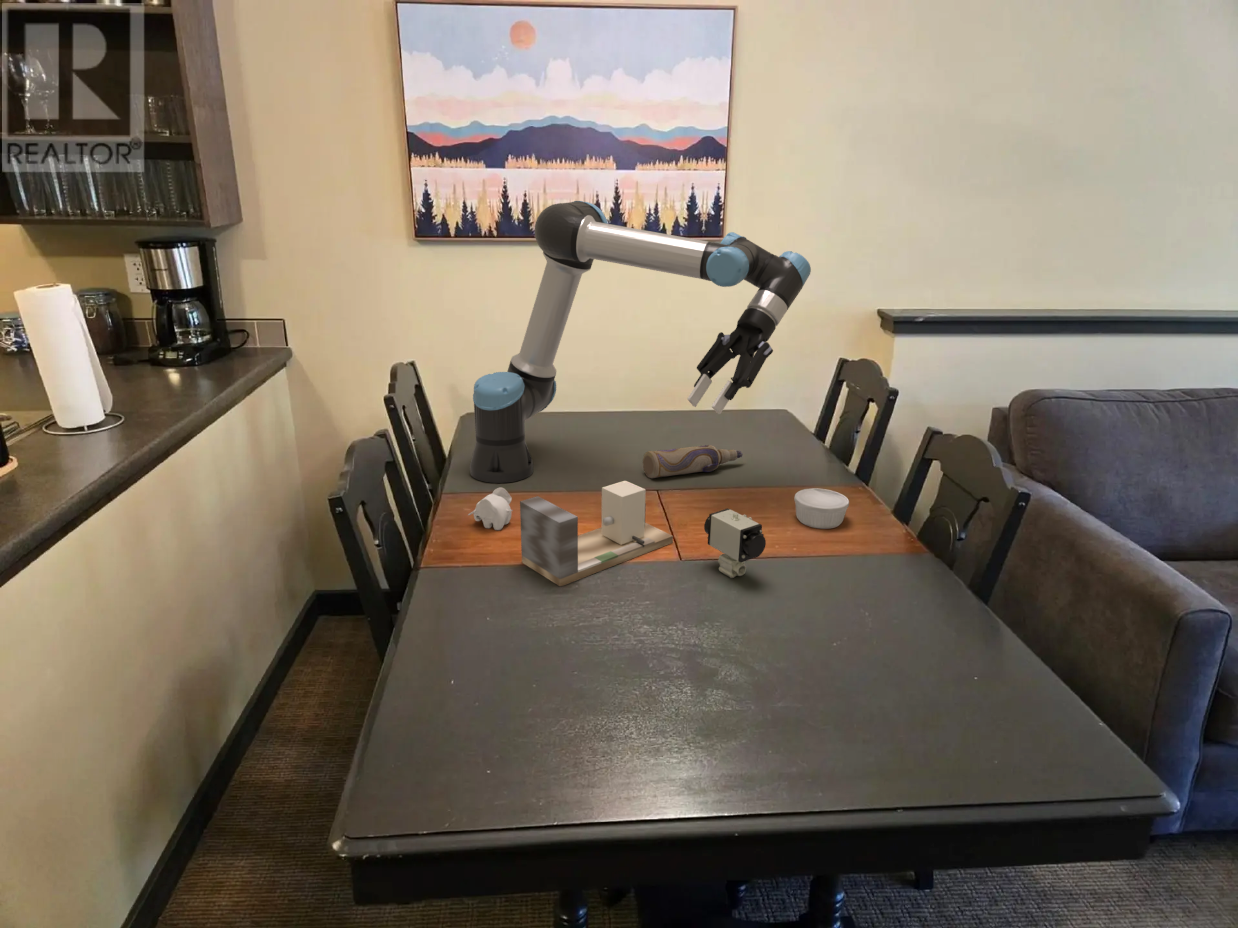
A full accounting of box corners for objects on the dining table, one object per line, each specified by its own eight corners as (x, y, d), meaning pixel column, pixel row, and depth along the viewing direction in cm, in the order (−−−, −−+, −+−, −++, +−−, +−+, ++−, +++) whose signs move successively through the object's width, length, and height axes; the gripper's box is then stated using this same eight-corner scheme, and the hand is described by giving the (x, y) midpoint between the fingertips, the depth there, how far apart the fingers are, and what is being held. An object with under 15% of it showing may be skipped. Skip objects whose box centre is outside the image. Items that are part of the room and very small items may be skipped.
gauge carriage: (595, 536, 159) (595, 489, 156) (626, 525, 164) (627, 479, 161) (625, 552, 153) (626, 503, 149) (656, 540, 158) (658, 493, 154)
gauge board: (521, 562, 152) (519, 501, 148) (632, 522, 170) (633, 467, 165) (560, 586, 144) (559, 522, 139) (672, 542, 161) (675, 484, 157)
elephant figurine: (480, 513, 173) (479, 483, 170) (521, 520, 170) (520, 489, 167) (462, 528, 166) (460, 496, 164) (504, 535, 163) (503, 503, 161)
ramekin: (850, 515, 175) (853, 493, 173) (841, 535, 166) (843, 512, 164) (799, 506, 179) (801, 484, 178) (787, 525, 170) (789, 502, 168)
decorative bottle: (653, 483, 191) (654, 457, 188) (641, 473, 197) (641, 447, 195) (749, 470, 200) (751, 445, 197) (734, 460, 206) (736, 436, 204)
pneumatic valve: (744, 589, 144) (749, 528, 140) (701, 563, 153) (704, 505, 149) (766, 580, 147) (771, 520, 143) (722, 556, 156) (726, 499, 152)
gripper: (804, 336, 165) (746, 427, 161) (734, 322, 179) (679, 406, 174) (791, 313, 160) (730, 406, 156) (719, 300, 173) (662, 386, 169)
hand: (703, 406), depth 165 cm, fingers open, 6 cm apart
